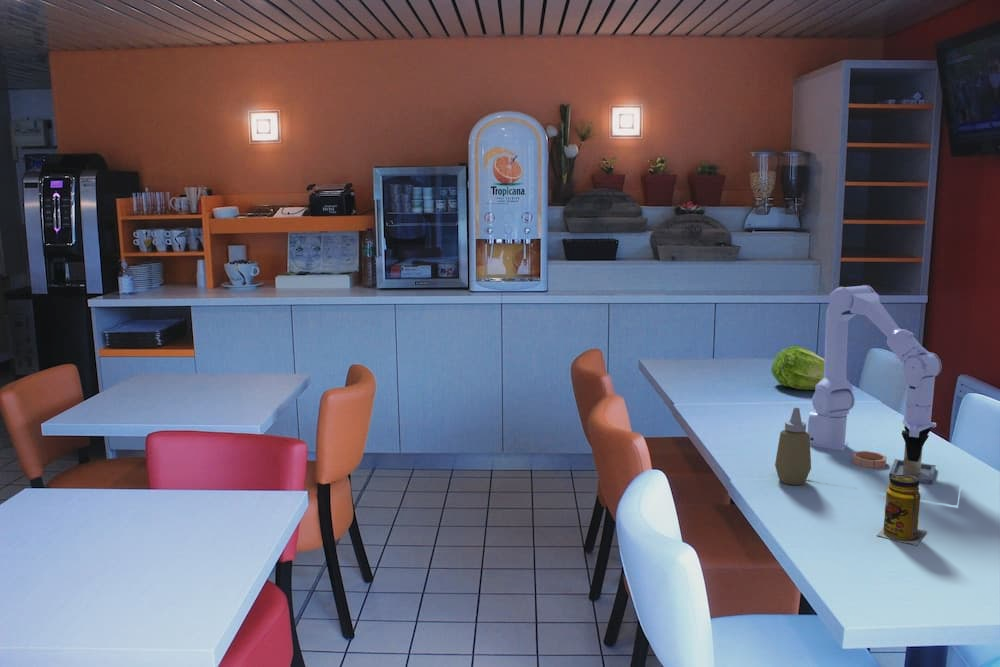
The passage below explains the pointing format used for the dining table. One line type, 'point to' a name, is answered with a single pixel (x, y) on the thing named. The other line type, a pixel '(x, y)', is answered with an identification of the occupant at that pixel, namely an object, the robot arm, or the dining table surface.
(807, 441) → the squeeze bottle
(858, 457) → the terracotta octagonal bowl
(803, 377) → the lettuce
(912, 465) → the beech peg
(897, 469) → the slate tray
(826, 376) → the robot arm
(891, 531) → the condiment
